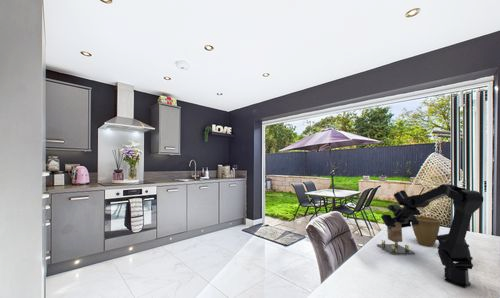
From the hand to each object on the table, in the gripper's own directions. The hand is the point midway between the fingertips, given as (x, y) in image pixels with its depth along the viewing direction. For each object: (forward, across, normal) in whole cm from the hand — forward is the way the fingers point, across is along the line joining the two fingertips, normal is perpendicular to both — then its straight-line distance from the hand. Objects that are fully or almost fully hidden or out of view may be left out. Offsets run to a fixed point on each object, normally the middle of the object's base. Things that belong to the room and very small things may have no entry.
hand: (392, 227), depth 127 cm
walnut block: (+4, 0, +6) cm, 7 cm away
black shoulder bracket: (-2, -21, +20) cm, 29 cm away
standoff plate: (+8, 0, +9) cm, 12 cm away
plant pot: (+14, -27, +4) cm, 31 cm away
